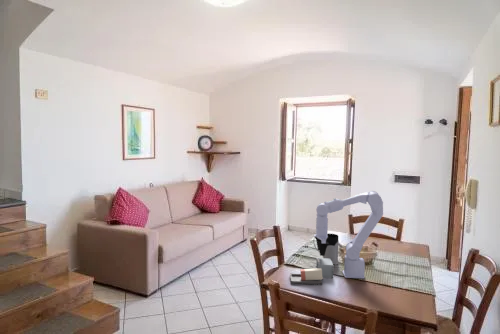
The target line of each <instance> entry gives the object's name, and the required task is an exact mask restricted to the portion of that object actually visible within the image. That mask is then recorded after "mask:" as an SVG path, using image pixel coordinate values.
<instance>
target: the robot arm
mask: <svg viewBox="0 0 500 334" xmlns="http://www.w3.org/2000/svg"><path fill="white" fill-rule="evenodd" d="M359 203H362V204H364V205H368V206H370V210H371V212H370V214H369V216H368V217H367V219H366V220H365V222H364V223H363V225H362V227H361V228H360V229H359V231H358V232H357V234H356V235H355V237H353V238H352V240H351V241H349V242H347V244H346V246H345V255H344V263H343V264H344V267H343V270H341V273H342V274H343V276H344V278H346V279H347V278H348V279H365V271H366V269H365V267H366V265H365V264H366V263H365V259H364V258H363V257H360V256H361V255H360V254H361V251H362V249H363V246H364V244H365V242H366V241H367V240H368V238H369V236H370V235H371V234H372V232H373V230H374V229H375V227H377V225H378V223H379V221H380V220H381V219H382V217H383V216H384V200H383V199H382V197H381V195H380V194H379V193H378V192H377V191H375V190H370V191H365V192H363V193H362V192H361V193H358V194H356V195H352V196H351V197H348V198H343V199H341V198H336V197H335V198H333V200H330V201H324V202H321V203H319V204H318V205H317V206H316V220H315V221H316V222H315V227H316V228H315V234H313V238H314V237H315V238H314V240H315V241H316V246H317V247H316V248H317V249H318V251H319V252H320V253H319V252H318V253H319V255H320V257H323V256H324V255H325V252H326V248H327V246H328V245H329V243H328V242H326V239H327V238H328V235H327V234H328V230H329V229H328V225H329V224H328V223H329V221H328V220H329V219H328V214H331V213H335V212H338V211H342V210H343V209H344V207H347V206H350V205H354V204H359ZM367 203H368V204H367Z"/></svg>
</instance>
